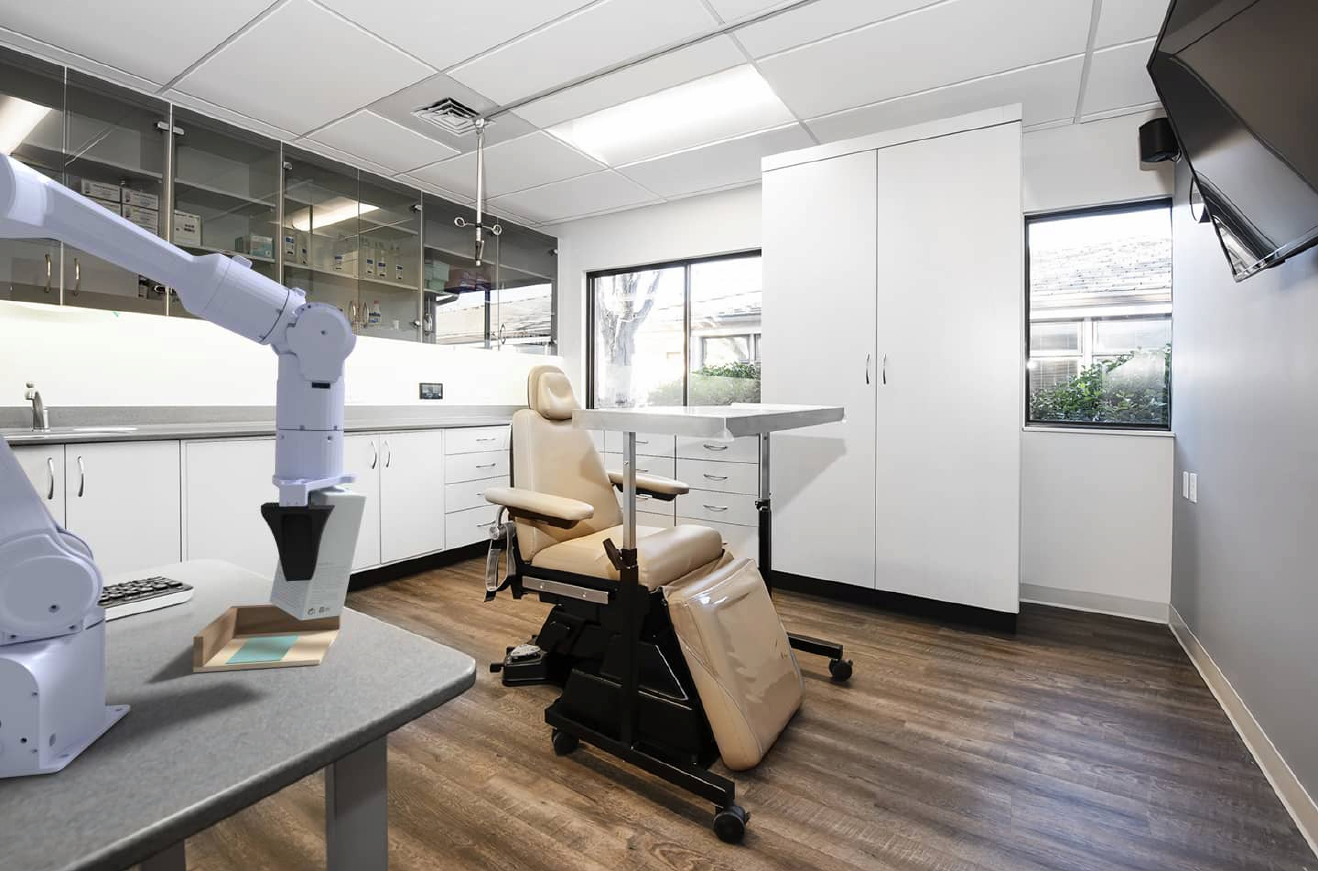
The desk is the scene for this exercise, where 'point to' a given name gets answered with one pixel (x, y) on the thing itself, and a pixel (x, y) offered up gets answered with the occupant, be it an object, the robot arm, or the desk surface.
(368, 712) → the desk surface
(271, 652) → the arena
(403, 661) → the desk surface
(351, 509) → the skincare box
